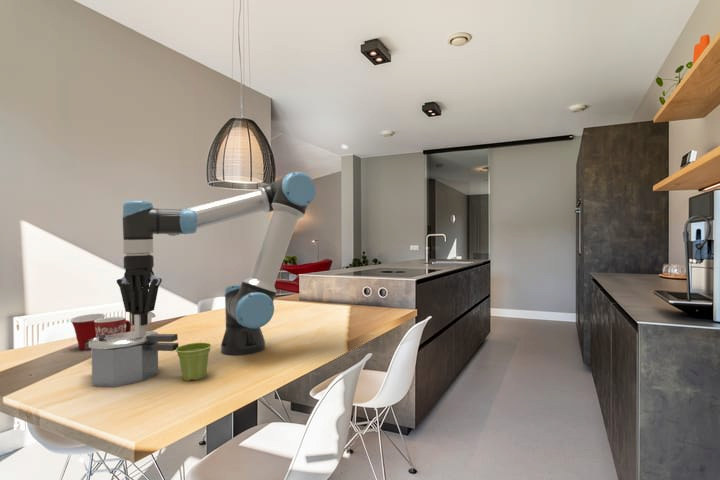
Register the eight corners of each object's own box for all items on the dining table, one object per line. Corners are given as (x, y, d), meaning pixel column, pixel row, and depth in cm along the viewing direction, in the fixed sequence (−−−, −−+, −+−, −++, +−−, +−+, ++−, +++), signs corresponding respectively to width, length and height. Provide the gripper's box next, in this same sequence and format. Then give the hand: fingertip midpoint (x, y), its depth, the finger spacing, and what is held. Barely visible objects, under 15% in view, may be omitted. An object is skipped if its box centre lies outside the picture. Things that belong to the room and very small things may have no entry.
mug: (111, 363, 125) (110, 322, 125) (88, 362, 127) (87, 321, 127) (141, 352, 138) (140, 314, 138) (119, 351, 140) (119, 314, 140)
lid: (192, 334, 119) (192, 325, 119) (154, 350, 102) (154, 339, 102) (118, 334, 123) (118, 325, 123) (70, 349, 106) (70, 339, 106)
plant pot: (189, 385, 104) (189, 353, 104) (169, 379, 109) (168, 348, 109) (219, 375, 112) (218, 344, 112) (198, 370, 117) (197, 341, 117)
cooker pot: (192, 368, 118) (191, 335, 118) (157, 388, 103) (156, 350, 103) (110, 366, 123) (109, 334, 123) (64, 385, 107) (64, 348, 107)
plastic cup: (63, 352, 140) (62, 319, 140) (85, 344, 151) (84, 313, 151) (92, 352, 140) (91, 318, 140) (112, 344, 151) (111, 313, 151)
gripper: (167, 253, 115) (169, 333, 115) (128, 254, 117) (129, 333, 117) (150, 254, 108) (151, 340, 107) (108, 255, 110) (109, 339, 109)
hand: (140, 336), depth 112 cm, fingers closed
